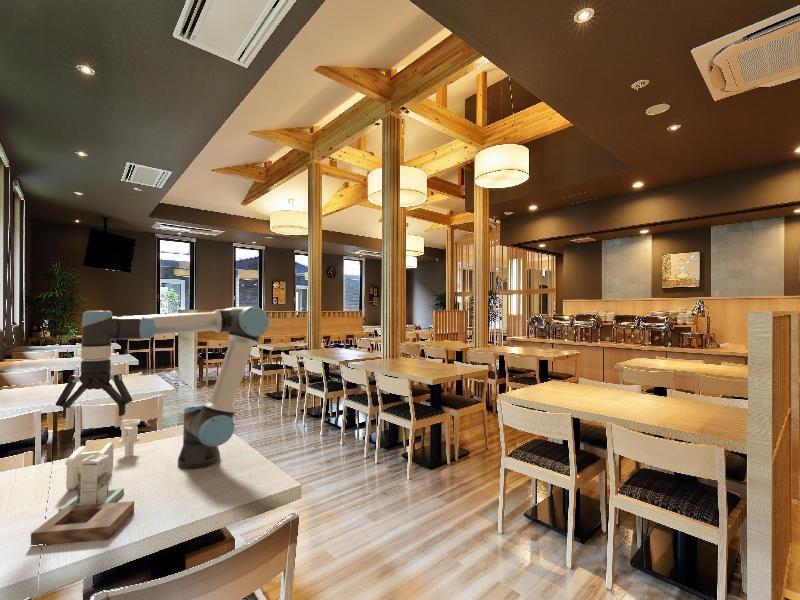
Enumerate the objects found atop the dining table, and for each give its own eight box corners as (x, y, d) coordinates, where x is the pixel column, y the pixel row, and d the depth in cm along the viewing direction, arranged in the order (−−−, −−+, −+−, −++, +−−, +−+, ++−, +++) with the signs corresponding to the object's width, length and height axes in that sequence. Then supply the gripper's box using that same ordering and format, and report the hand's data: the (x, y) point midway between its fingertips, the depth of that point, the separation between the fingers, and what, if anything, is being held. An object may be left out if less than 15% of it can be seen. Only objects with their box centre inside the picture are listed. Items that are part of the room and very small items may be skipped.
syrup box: (89, 500, 126) (90, 454, 127) (108, 499, 127) (109, 454, 127) (76, 509, 121) (77, 461, 121) (96, 508, 121) (97, 460, 121)
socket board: (134, 512, 119) (134, 501, 119) (109, 539, 105) (109, 526, 105) (65, 518, 115) (65, 506, 115) (30, 546, 101) (31, 533, 102)
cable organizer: (102, 488, 135) (103, 454, 135) (63, 494, 130) (64, 458, 131) (113, 471, 148) (114, 440, 149) (78, 476, 144) (79, 444, 144)
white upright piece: (114, 456, 163) (115, 420, 164) (132, 451, 170) (132, 416, 170) (126, 459, 161) (126, 422, 161) (143, 453, 167) (143, 417, 167)
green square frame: (123, 493, 131) (124, 487, 131) (104, 512, 119) (104, 505, 119) (82, 496, 128) (83, 490, 128) (58, 516, 117) (58, 509, 117)
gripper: (145, 357, 131) (143, 421, 130) (58, 358, 126) (56, 425, 125) (134, 360, 123) (132, 428, 123) (42, 361, 119) (40, 432, 118)
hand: (94, 427), depth 124 cm, fingers open, 13 cm apart
